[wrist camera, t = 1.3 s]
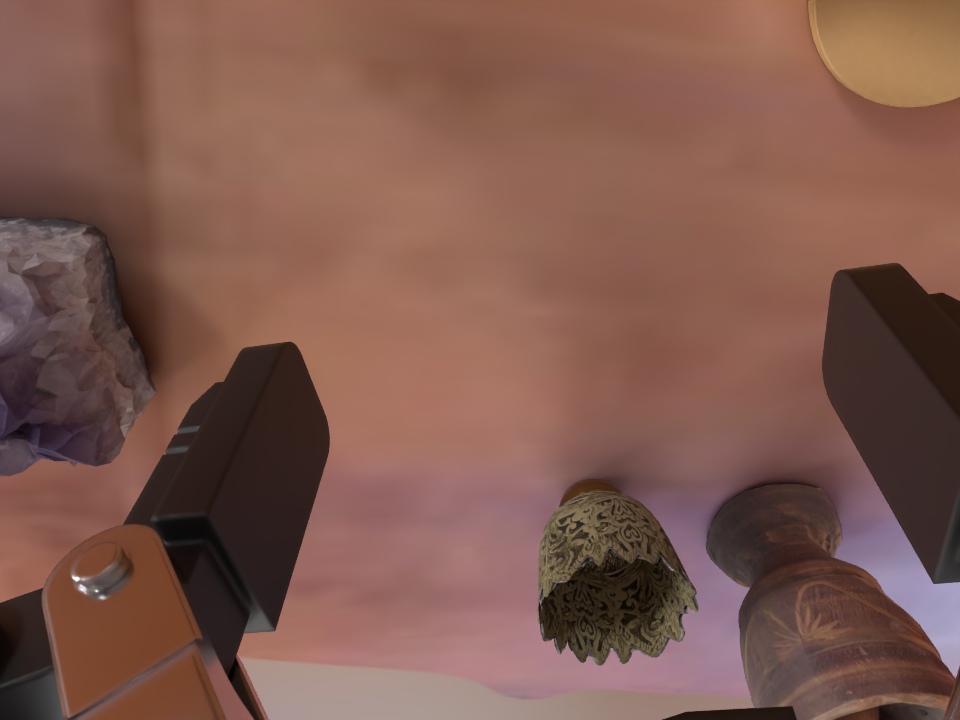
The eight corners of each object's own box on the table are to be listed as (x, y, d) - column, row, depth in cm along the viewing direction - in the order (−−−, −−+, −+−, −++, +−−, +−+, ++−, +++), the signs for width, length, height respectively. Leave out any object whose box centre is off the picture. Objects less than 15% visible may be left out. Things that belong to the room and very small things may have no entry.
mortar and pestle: (797, 612, 46) (998, 1021, 29) (666, 609, 45) (794, 1025, 29) (863, 476, 40) (1166, 896, 23) (712, 471, 39) (910, 899, 22)
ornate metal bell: (546, 435, 37) (567, 552, 31) (676, 457, 39) (724, 575, 32) (508, 534, 41) (520, 658, 34) (629, 552, 42) (663, 675, 36)
